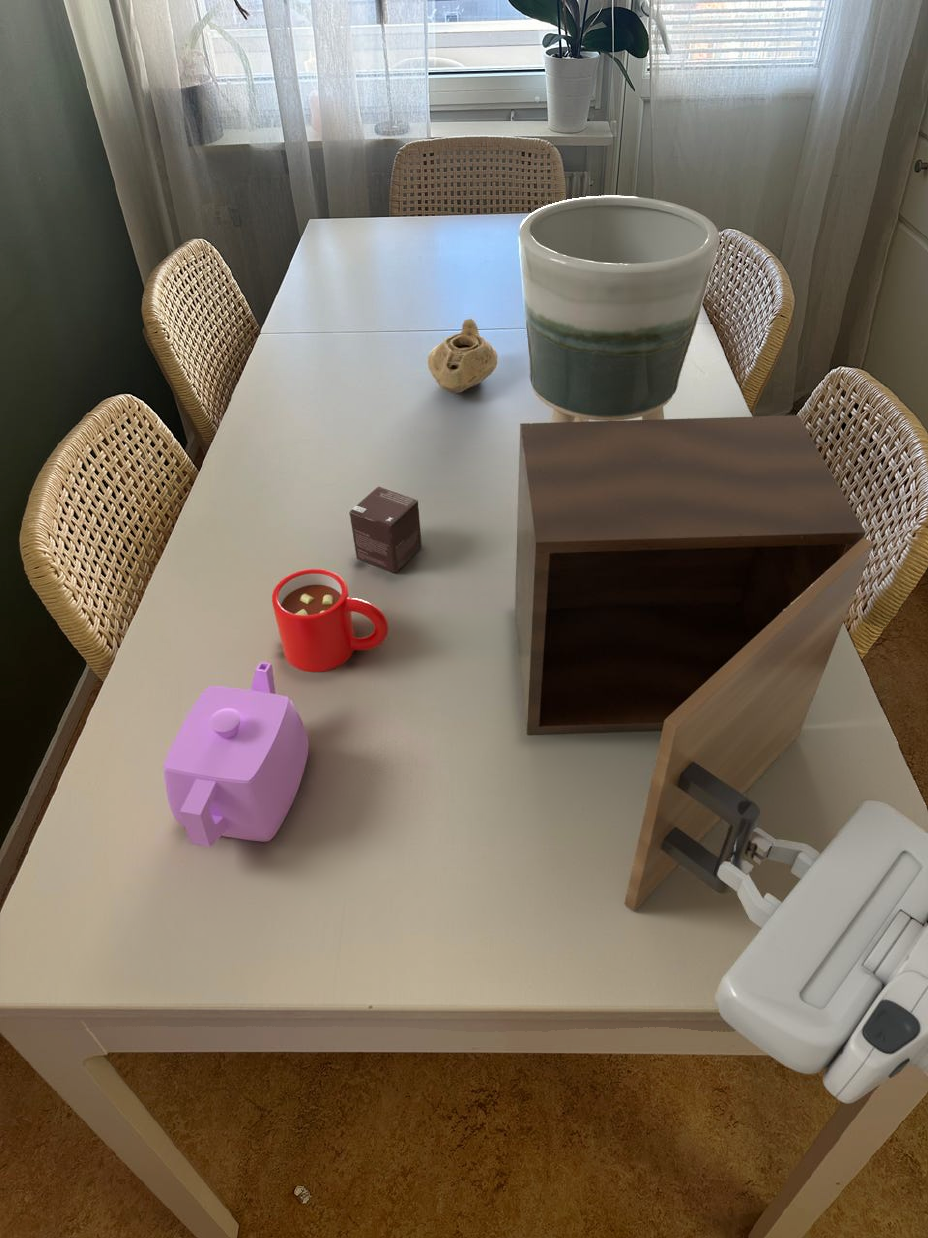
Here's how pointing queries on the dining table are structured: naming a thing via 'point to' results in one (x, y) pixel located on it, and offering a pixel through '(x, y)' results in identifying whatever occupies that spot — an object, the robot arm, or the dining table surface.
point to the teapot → (236, 762)
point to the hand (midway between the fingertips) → (735, 850)
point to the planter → (612, 302)
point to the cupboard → (660, 557)
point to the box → (386, 529)
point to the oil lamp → (462, 359)
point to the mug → (321, 620)
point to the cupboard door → (738, 734)
